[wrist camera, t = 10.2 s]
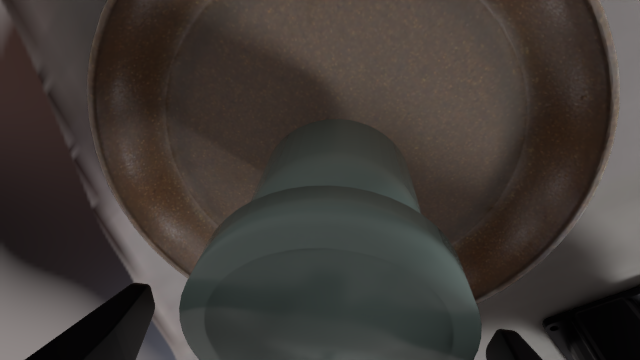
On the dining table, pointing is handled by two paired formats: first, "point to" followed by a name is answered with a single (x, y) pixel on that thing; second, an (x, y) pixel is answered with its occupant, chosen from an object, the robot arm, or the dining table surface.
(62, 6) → the dining table surface
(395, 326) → the glazed flower pot
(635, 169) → the dining table surface
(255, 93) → the plant saucer
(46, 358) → the robot arm
